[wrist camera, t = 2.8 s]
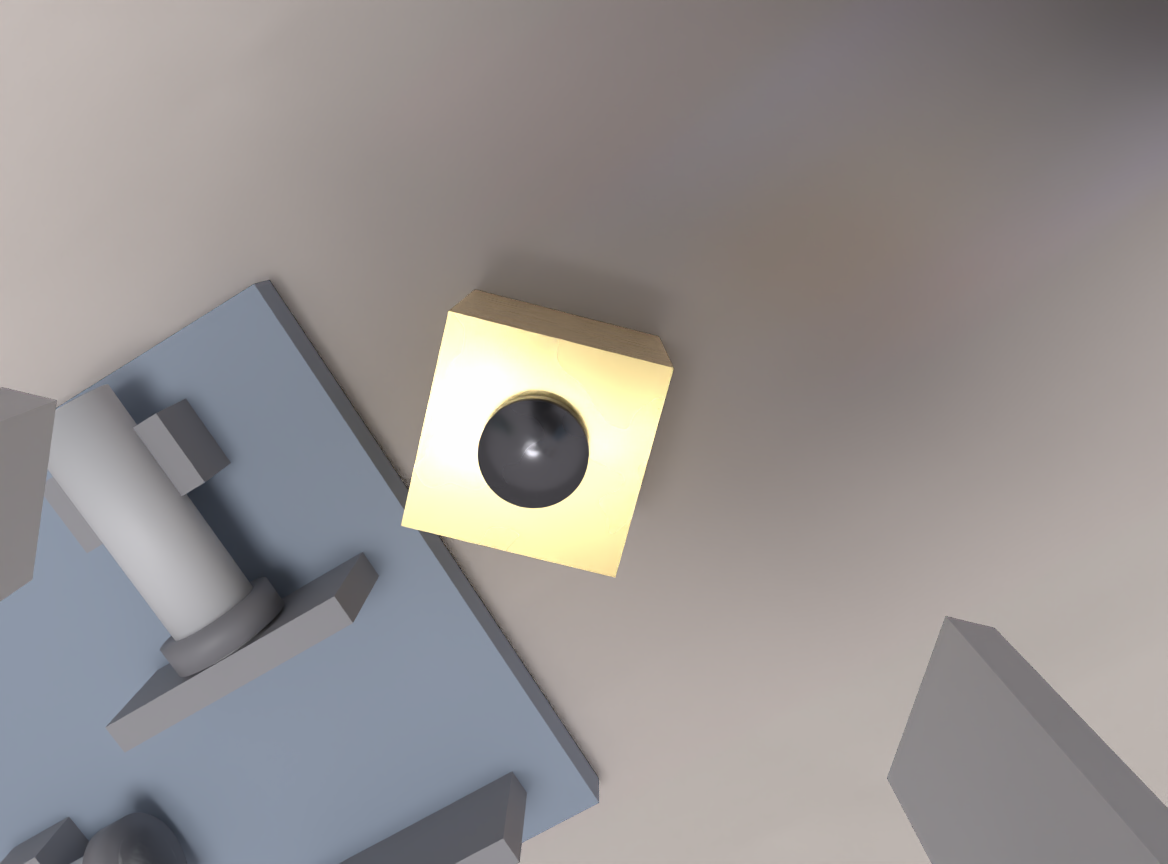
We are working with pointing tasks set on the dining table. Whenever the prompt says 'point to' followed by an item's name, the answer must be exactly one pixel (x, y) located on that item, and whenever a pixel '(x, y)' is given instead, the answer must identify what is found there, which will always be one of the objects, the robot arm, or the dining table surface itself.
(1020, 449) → the dining table surface
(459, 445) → the block
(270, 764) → the shaft bench
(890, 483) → the dining table surface
